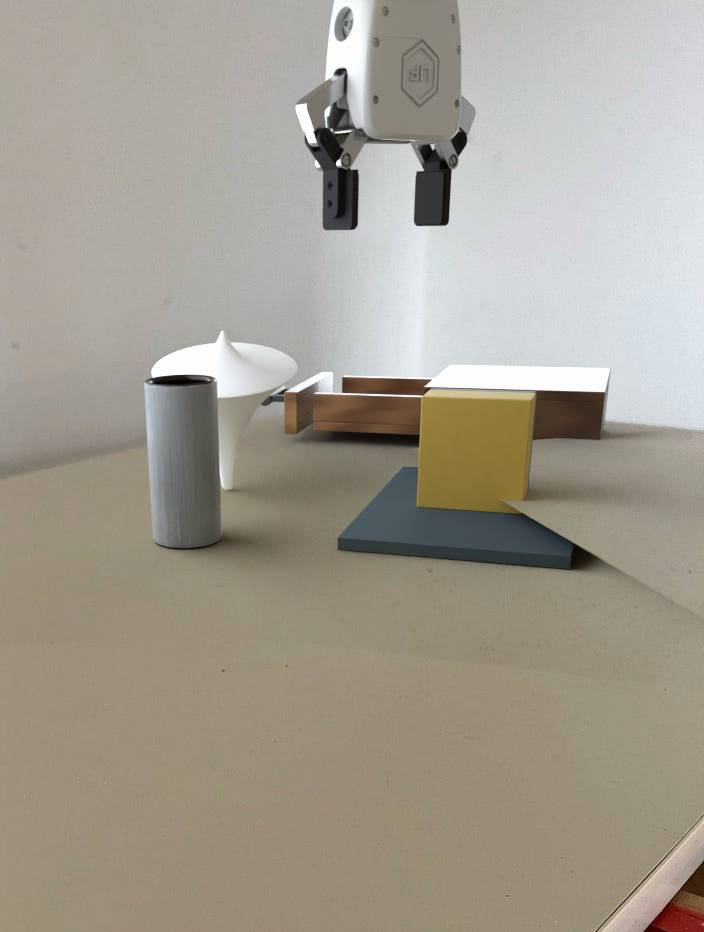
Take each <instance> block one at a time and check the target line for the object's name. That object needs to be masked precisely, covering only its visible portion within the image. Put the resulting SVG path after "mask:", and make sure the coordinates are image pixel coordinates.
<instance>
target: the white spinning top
mask: <svg viewBox="0 0 704 932" xmlns="http://www.w3.org/2000/svg"><path fill="white" fill-rule="evenodd" d="M297 372H298V364H297V362H296V361H295V360H294V358H293V357H291V356H290V355H288V354H286V352H283V351H281V350H278V349H275V348H272V347H270V346H266V345H261V344H256V343H249V342H235V341H233V342H232V341H230V339H229V337H228V335H227V333H226V331H225V330H221V331H220V333H219V335H218V338H217V340H216V341H215V342H212V343H205V344H198V345H193V346H190V347H185V348H182V349H178V350H177V351H174V352H171V353H169V354H167V355H166V356H163V357H162V358H160V359H159V360H158V361H157V362H156V363H155V364H154V365H153V367H152V368H151V378H153V377H159V376H167V375H184V374H193V375H207V376H212V377H214V378H216V380H217V398H218V431H219V463H220V485H221V488H222V489H223V490H224V491H231V490H232V489H233V488H234V484H235V477H236V472H237V471H236V469H237V464H238V459H239V454H240V450H241V445H242V442H243V439H244V435H245V434H246V433H245V432H246V430H247V429H248V426H249V423H250V421H251V420H252V418H253V416H254V414H255V413H256V411H257V410H258V409H259V407H260V406H262V405H261V404H262V402H263V401H264V400H265V399H267V398H268V397H269V396H270V395H271V394H272V393H274V392H275V391H276V390H277V389H279V388H280V387H282V386H283V385H285V386H286V385H287V384H288V383H289V382H291V381H292V380H293V378H294V377H295V376H296V375H297Z"/></svg>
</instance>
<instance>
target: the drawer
mask: <svg viewBox="0 0 704 932" xmlns="http://www.w3.org/2000/svg"><path fill="white" fill-rule="evenodd" d="M434 378H435V377H411V376H410V377H407V376H404V377H403V376H374V375H373V376H369V375H368V376H367V375H343V376H342V377H341V392H334V372H332V371H322V372H321V371H320V372H319V373H318V374H316V375H313V376H312V377H310V378H307V379H306V380H305V381H302V382H301V383H299V384H297V385H294V386H293V387H286V384H285V385H283V386H282V387H280V388H279V389H277V390H276V391H275V392H274V393H272V394H271V395H270V396H269V397H268V398H267V399H265V400H264V401H263V402H262V404H261V405H260V406H263V407H267V406H270V405H271V404H273V403H284V404H283V405H284V406H283V407H284V408H283V409H284V413H283V415H284V418H283V419H284V421H283V422H284V434H285V435H297V434H300V433H301V432H303V431H304V430H305V429H306V428H308V427H310V426H312V431H323V432H325V431H326V432H343V433H344V432H346V433H367V434H368V433H369V434H370V433H371V434H389V435H409V436H411V435H413V436H420V423H421V401H422V396H423V395H424V387H425V386H426V385H427V384H428V383H429V382H431V381H432V380H433V379H434Z"/></svg>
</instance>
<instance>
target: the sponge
mask: <svg viewBox="0 0 704 932" xmlns="http://www.w3.org/2000/svg"><path fill="white" fill-rule="evenodd" d="M536 397H537V392H536V391H509V390H476V389H442V388H431V389H430V390H429V391H428V392H427V393H426V394H425V395H423V396H422V401H421V423H420V435H419V446H418V447H419V448H418V466H417V467H418V489H417V507H422V508H436V509H451V510H465V511H480V512H494V513H508V514H522V513H523V512H522V511H520V510H519V509H517V508H515V507H513V506H511V505H509V504H508V503H506V502H505V501H515V502H516V501H517V502H524V500H525V498H526V496H527V493H528V490H529V486H530V478H531V477H530V475H531V464H532V453H533V441H534V440H533V431H534V420H535V408H536Z"/></svg>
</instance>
